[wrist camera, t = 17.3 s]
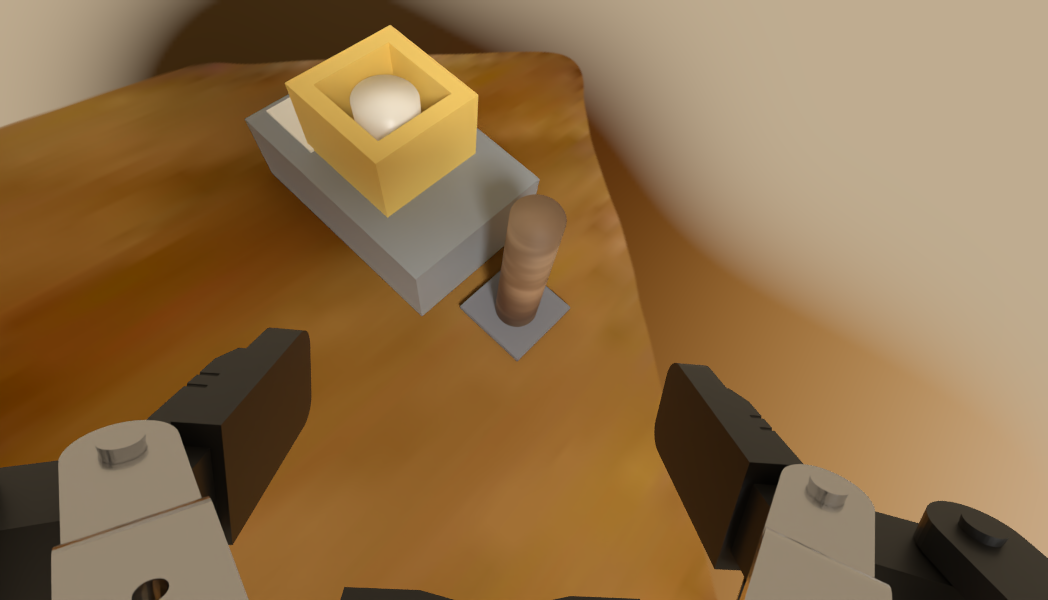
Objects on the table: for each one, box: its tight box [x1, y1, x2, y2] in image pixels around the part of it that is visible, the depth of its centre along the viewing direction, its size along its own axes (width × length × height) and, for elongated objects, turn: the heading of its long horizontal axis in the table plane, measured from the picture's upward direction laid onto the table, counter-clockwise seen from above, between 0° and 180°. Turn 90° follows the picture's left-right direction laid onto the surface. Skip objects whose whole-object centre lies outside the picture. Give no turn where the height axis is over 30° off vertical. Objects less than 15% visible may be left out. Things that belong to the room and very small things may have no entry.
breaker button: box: [350, 75, 421, 141], centre depth 36 cm, size 4×4×8 cm
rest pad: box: [460, 270, 570, 361], centre depth 39 cm, size 6×6×1 cm
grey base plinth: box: [245, 25, 539, 316], centre depth 37 cm, size 18×12×12 cm, turn 47°
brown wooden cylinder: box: [495, 194, 567, 327], centre depth 34 cm, size 3×3×12 cm
